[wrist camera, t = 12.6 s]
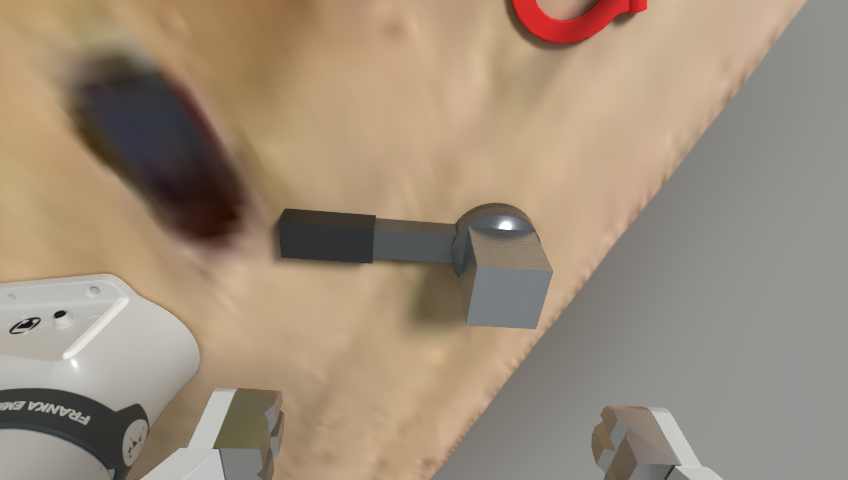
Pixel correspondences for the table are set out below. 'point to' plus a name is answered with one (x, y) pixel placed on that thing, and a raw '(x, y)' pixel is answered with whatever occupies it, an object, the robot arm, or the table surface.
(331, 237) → the ratchet
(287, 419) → the table surface
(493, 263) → the grey wooden cube
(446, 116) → the table surface
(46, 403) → the robot arm
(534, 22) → the tow hook
